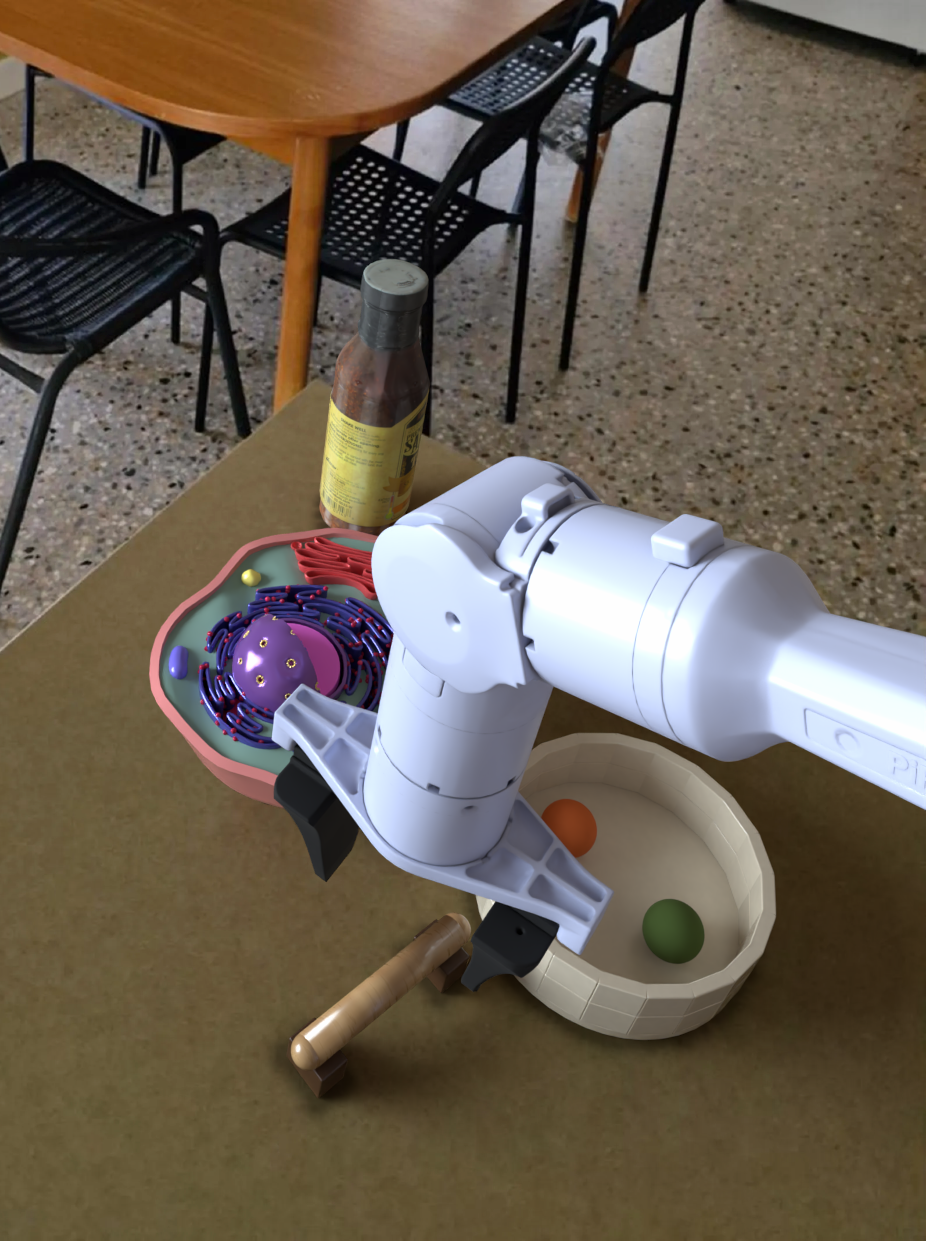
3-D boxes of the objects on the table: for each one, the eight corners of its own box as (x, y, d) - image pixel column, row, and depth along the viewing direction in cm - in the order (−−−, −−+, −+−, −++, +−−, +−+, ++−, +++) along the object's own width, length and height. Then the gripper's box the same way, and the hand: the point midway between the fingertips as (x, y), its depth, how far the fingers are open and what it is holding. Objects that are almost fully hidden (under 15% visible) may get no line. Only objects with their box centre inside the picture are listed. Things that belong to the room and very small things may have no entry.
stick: (451, 916, 63) (457, 900, 62) (474, 941, 62) (480, 925, 61) (282, 1054, 57) (284, 1039, 56) (304, 1084, 56) (307, 1069, 55)
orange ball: (601, 848, 68) (614, 818, 66) (564, 879, 66) (577, 849, 65) (559, 808, 70) (571, 778, 68) (523, 837, 68) (534, 807, 66)
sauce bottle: (408, 549, 85) (455, 315, 72) (317, 544, 85) (348, 308, 72) (402, 482, 90) (444, 252, 78) (315, 477, 90) (344, 246, 77)
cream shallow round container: (803, 926, 66) (832, 882, 63) (630, 1105, 59) (655, 1064, 56) (593, 736, 74) (611, 689, 71) (418, 871, 67) (431, 825, 64)
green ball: (706, 951, 64) (724, 922, 62) (670, 987, 62) (687, 958, 60) (660, 906, 66) (675, 876, 64) (623, 939, 64) (638, 910, 62)
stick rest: (430, 937, 64) (436, 918, 63) (463, 975, 63) (470, 956, 61) (285, 1056, 59) (288, 1037, 58) (317, 1100, 58) (322, 1082, 57)
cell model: (542, 768, 72) (586, 644, 65) (247, 940, 63) (261, 817, 56) (372, 573, 83) (394, 448, 76) (99, 697, 74) (95, 568, 67)
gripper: (679, 768, 46) (594, 948, 54) (353, 571, 52) (323, 759, 61) (594, 913, 41) (515, 1084, 50) (248, 678, 47) (231, 865, 56)
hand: (404, 914), depth 55 cm, fingers open, 7 cm apart
